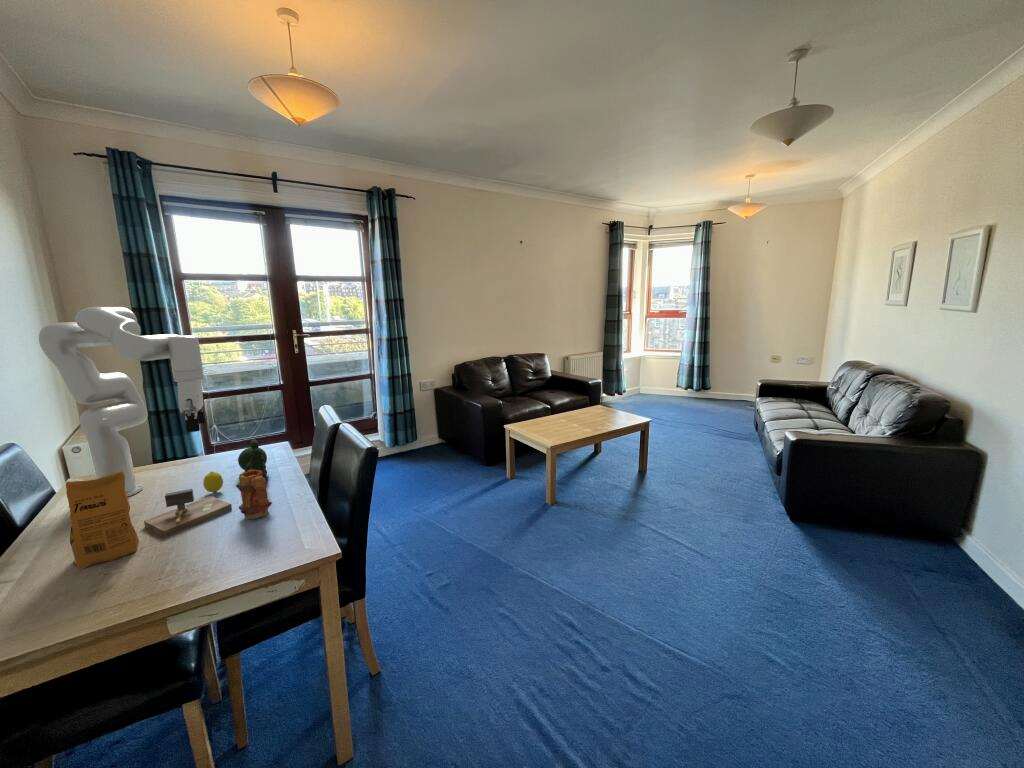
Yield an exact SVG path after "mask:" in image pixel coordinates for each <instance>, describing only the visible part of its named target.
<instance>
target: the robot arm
mask: <svg viewBox="0 0 1024 768" xmlns="http://www.w3.org/2000/svg"><path fill="white" fill-rule="evenodd" d="M141 332H142V329H141V326H140V324H139V323H138V318H137V316H136V315H135V313H134V312H133V311H131V310H130V309H128V308H127V307H123V306H92V307H91V306H90V307H86V308H83V309H81V310H79V311H78V312H77V313H76V315H75V321H68V322H67V321H64V322H63V321H62V322H55V323H50V324H47V325H45V326H43V327H42V328H41V329H40V331H39V334H38V343H39V345H40V348H41V350H42V352H43V353H44V355H45V356H46V357H47V358H48V359H49V360H50V361H51V362H52V364H53V365H54V366H55V367H56V369H57V371H58V372H59V373H60V376H61V378H62V380H63V381H64V384H65V386H66V387H67V389H68V391H69V393H70V394H71V396H72V398H73V399H74V400H75V402H76V403H78V404H81V405H92V404H98V403H104V402H109V401H113V400H114V401H115V402H114V403H107V404H103V405H98V406H95V407H94V406H93V407H90V408H89V409H86V410H85V411H83V412H82V413H81V414H80V416H79V420H78V421H79V425H80V427H81V430H82V431H83V434H84V436H85V438H86V440H87V445H88V447H89V451H90V452H89V453H90V456H91V461H92V466H93V471H94V476H95V479H98V478H101V477H104V476H108V475H110V474H113V473H116V472H120V471H123V473H124V476H125V492H126V494H127V498H128V497H131V496H133V495H137V494H138V493H139V492H141V491H142V490H143V489H144V486H143V483H141V482H137V481H136V475H135V469H134V464H133V459H132V453H131V448H130V444H129V441H128V439H127V438H126V437H124V436H123V435H122V434H120V432H119V431H123V430H126V429H130V428H133V427H137V426H140V425H142V424H143V423H145V422H146V421H147V419H148V416H149V415H148V410H147V407H146V405H145V402H144V401H143V399H142V397H141V395H140V393H139V390H138V389H137V387H136V385H135V382H134V381H133V380H132V379H131V378H130V377H129V375H127V374H126V373H123V372H119V371H110V372H104V373H101V372H100V371H99V370H98V368H97V366H96V364H95V362H94V361H93V360H92V359H91V358H90V357H88V356H87V355H86V354H85V353H82V352H81V351H79V350H77V349H79V348H80V349H81V348H93V347H103V346H108V345H112V347H113V348H114V350H115V351H116V352H117V353H118V354H120V355H122V356H125V357H127V358H130V359H133V360H136V361H140V362H141V361H142V362H149V361H155V360H156V361H157V360H164V359H170V366H171V371H172V377H173V382H177V383H176V384H177V397H178V398H177V399H178V409H179V412H180V413H181V414H184V418H185V419H184V421H185V429H186V432H187V433H193V432H194V433H195V432H200V430H201V427H200V424H201V425H202V424H204V423H205V422H206V419H205V413H204V409H203V407H204V395H203V390H202V389H203V388H202V382H201V380H204V379H205V376H204V368H203V361H202V356H201V355H202V354H201V347H200V341H199V338H198V337H197V336H195V335H188V334H187V335H184V334H183V335H180V334H176V333H175V334H174V333H165V334H152V335H150V334H147V335H141Z"/></svg>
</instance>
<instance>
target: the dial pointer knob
mask: <svg viewBox="0 0 1024 768" xmlns="http://www.w3.org/2000/svg"><path fill="white" fill-rule="evenodd" d="M194 497H195V496H194V491H193V488H189V489H184V490H178V491H173V492H172V491H171V492H168V493H165V495H164V500H165V505H166V508H169V507H175V506H176V507H177V508H178V509H177V508H176V509H177V510H176V512H177V513H179V514H178V517H177V520H176V522H177V523H178V522H180V519H181V516H182V513H183V512H185V511H187V507H185V505H186V504H191V503H193V502H195V501H194V500H195V498H194Z"/></svg>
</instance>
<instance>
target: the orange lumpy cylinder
mask: <svg viewBox="0 0 1024 768" xmlns="http://www.w3.org/2000/svg"><path fill="white" fill-rule="evenodd" d="M238 480H239V482H238V483H237V484H236V486H235V487H236V488H237V489H238V490H239V492H240V495H241V496H240V497H241V501H242V503H241V505H239V506H238V509H239V510H240V513H241V514H243V516H244V519H246V520H254V519H258V518H262V517H264V516H266V515H267V514H268V513H269V508H270V507H271V505H272V504H273V502H272V501H270V499H268V498H269V497H268V491H267V485H268V483H269V481H268V482H267V481H266V479H265V478H263V472H262V471H261V470H248V471H247V472H245V470H243V472H241V473H239V474H238Z"/></svg>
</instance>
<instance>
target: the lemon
mask: <svg viewBox="0 0 1024 768" xmlns="http://www.w3.org/2000/svg"><path fill="white" fill-rule="evenodd" d="M202 483H203V488H204V490H206V492H209V493H213V494H215V493H217V492H218V491H220V490H221V488H223V484H224V479H223V476H222V474H220V473H219V472H218V471H217V472H216V471H210V472H209V473H207V474H206V475H205V476H204V478H203V482H202Z"/></svg>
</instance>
